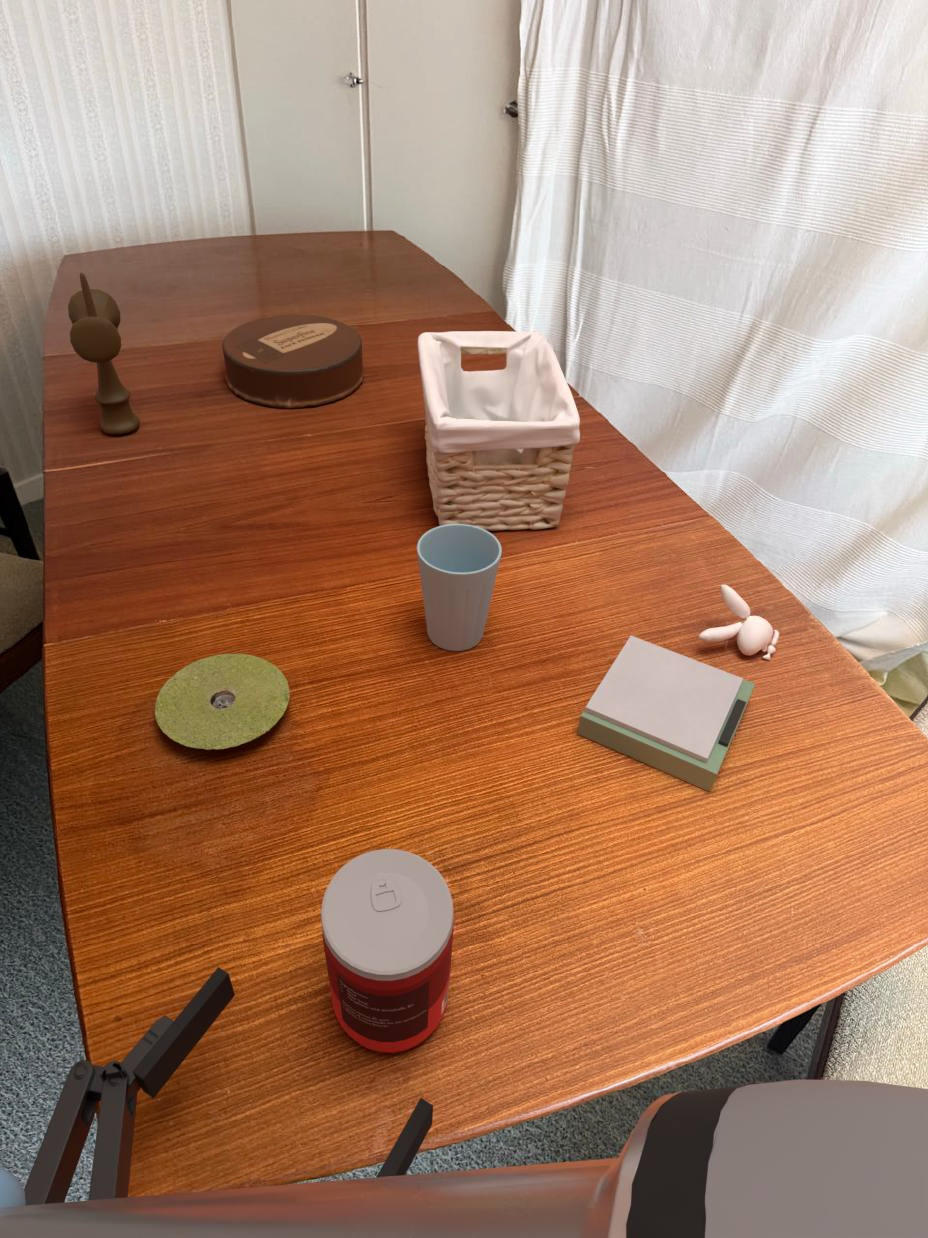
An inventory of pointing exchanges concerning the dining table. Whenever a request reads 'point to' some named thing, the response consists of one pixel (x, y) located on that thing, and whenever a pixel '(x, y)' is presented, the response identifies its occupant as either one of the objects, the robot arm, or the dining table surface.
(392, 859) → the canned food
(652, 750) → the scale
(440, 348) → the basket
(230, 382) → the container
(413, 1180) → the robot arm
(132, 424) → the kendama
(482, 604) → the cup
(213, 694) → the green grinding disc
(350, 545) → the dining table surface
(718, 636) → the rabbit figurine
